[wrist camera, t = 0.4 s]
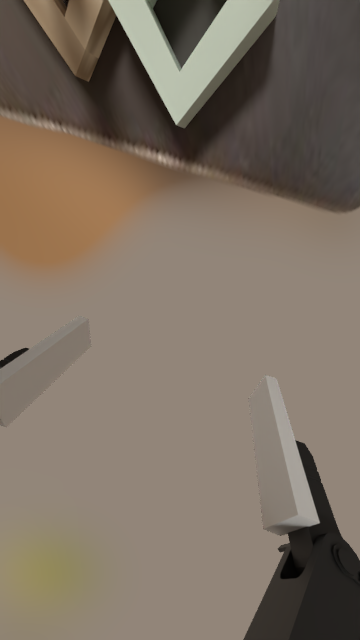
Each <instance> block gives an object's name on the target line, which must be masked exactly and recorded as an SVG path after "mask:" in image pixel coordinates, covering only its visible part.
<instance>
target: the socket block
mask: <svg viewBox="0 0 360 640" xmlns="http://www.w3.org/2000/svg"><path fill="white" fill-rule="evenodd" d="M108 1H109V2H110V4H111V6H112V8H113V10H114V12H115V14H116V15H117V17H118V19H119V21H120V23H121V25H122V26H123V28H124V30H125V32H126V34H127V36H128V37H129V39H130V41H131V43H132V45H133V47H134V48H135V50H136V52H137V54H138V56H139V58H140V60H141V61H142V63H143V65H144V67H145V69H146V71H147V72H148V74H149V76H150V78H151V80H152V82H153V83H154V85H155V87H156V89H157V91H158V93H159V94H160V96H161V98H162V100H163V102H164V104H165V106H166V107H167V109H168V111H169V113H170V115H171V117H172V118H173V120H174V122H175V124H176V125H177V126H179V127H182V128H184V129H185V128H186V126H187V125H188V124H189V123H190V121H191V120H192V119H193V118H194V116H195V115H196V114H197V113H198V112H199V110H200V109H201V108H202V107H203V105H204V104H205V103H206V102H207V100H208V99H209V98H210V97H211V96H212V94H213V93H214V92H215V91H216V89H217V88H218V87H219V86H220V85H221V83H222V82H223V81H224V80H225V78H226V77H227V76H228V75H229V73H230V72H231V71H232V70H233V69H234V67H235V66H236V65H237V64H238V62H239V61H240V60H241V59H242V57H243V56H244V55H245V54H246V53H247V51H248V50H249V49H250V48H251V46H252V45H253V44H254V43H255V41H256V40H257V39H258V38H259V37H260V35H261V34H262V33H263V32H264V30H265V29H266V28H267V27H268V25H269V24H270V23H271V22H272V21H273V19H274V18H275V17H276V14H277V10H278V6H279V2H280V0H227V1H226V3H225V4H224V6H223V7H222V9H221V10H220V12H219V13H218V15H217V16H216V18H215V19H214V21H213V22H212V24H211V25H210V27H209V28H208V30H207V31H206V33H205V34H204V36H203V38H202V39H201V41H200V42H199V44H198V45H197V47H196V48H195V50H194V51H193V53H192V54H191V56H190V57H189V59H188V60H187V62H186V63H185V65H184V66H183V68H182V69H181V67H180V65H179V62H178V60H177V58H176V56H175V54H174V52H173V50H172V48H171V46H170V44H169V41H168V39H167V37H166V35H165V33H164V31H163V29H162V27H161V25H160V23H159V20H158V18H157V16H156V14H155V12H154V10H153V8H154V6H155V3H156V1H157V0H108Z"/></svg>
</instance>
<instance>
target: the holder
mask: <svg viewBox="0 0 360 640" xmlns="http://www.w3.org/2000/svg"><path fill="white" fill-rule="evenodd" d="M24 2H25V3H26V5H27V6H28V7H29V9H30V10H31V12H32V13H33V15H34V16H35V18H36V19H37V21H38V22H39V24H40V25H41V26H42V28H43V29H44V31H45V32H46V34H47V35H48V37H49V38H50V40H51V41H52V42H53V44H54V45H55V47H56V48H57V50H58V51H59V53H60V54H61V56H62V57H63V59H64V60H65V61H66V63H67V64H68V66H69V67H70V69H71V70H72V72H73V73H74V75H75V76H76V77H79V78H81V79H83V80H85V81H88V82H89V80H90V78H91V76H92V73H93V71H94V68H95V66H96V64H97V61H98V59H99V56H100V54H101V51H102V49H103V47H104V44H105V42H106V39H107V37H108V35H109V32H110V30H111V27H112V25H113V23H114V20H115V18H116V14H115V12H114V10H113V8H112V6H111V4H110V2H109V1H108V0H69V3H68V6H67V7H66V5H65V4H64V2H63V0H24Z"/></svg>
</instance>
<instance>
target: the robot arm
mask: <svg viewBox="0 0 360 640" xmlns="http://www.w3.org/2000/svg"><path fill="white" fill-rule="evenodd" d="M90 347H91V340H90V330H89V320H88V319H87V318H84V317H81V316H79V317H77V318H75V319H74V320H72V321H71V322H69V323H68V324H66V325H65V326H63V327H62V328H60V329H59V330H58V331H56V332H54V333H53V334H51V335H50V336H48V337H47V338H45V339H44V340H43V341H41V342H39V343H38V344H37V345H35V346H34V347H32V348H31V349H28V348H23V349H21V350H18V351H16V352H13V353H12V354H10V355H9V356H7V357H6V358H4V360H1V361H0V425H1V426H4V427H7V426H8V425H9V424H10V423H11V422H12V421H13V420H15V419H16V418H17V417H18V416H19V415H20V414H21V413H22V412H23V411H24V410H25V409H26V408H27V407H28V406H29V405H30V404H31V403H32V402H33V401H34V400H35V399H36V398H38V397H39V396H40V395H41V394H42V393H43V392H44V391H45V390H46V389H47V388H48V387H49V386H50V385H51V384H52V383H53V382H54V381H55V380H56V379H57V378H58V377H60V376H61V375H62V374H63V373H64V372H65V371H66V370H67V369H68V368H69V367H70V366H71V365H72V364H73V363H74V362H75V361H76V360H77V359H78V358H79V357H80V356H82V355H83V354H84V353H85V352H86V351H87V350H88V349H89V348H90ZM249 407H250V415H251V425H252V433H253V442H254V450H255V460H256V468H257V477H258V486H259V495H260V504H261V513H262V521H263V529H265V530H267V531H270V532H272V533H275V534H277V535H280V536H281V535H285V534H288V536H289V541H290V543H288V544H284V545H281V546H280V547H279V548H278V550H279V552H283V551H285V552H284V554H283V556H282V558H281V560H280V562H279V564H278V567H277V569H276V571H275V573H274V575H273V578H272V580H271V582H270V584H269V586H268V588H267V590H266V592H265V595H264V597H263V599H262V601H261V603H260V605H259V607H258V610H257V612H256V614H255V616H254V618H253V621H252V623H251V625H250V627H249V629H248V631H247V633H246V635H245V638H244V640H360V560H359V559H358V557H357V555H356V553H355V552H354V551H353V549H352V548H351V547H350V545H349V544H348V543H347V542H346V541H345V540H344V539H343V538H342V536H341V534H340V532H339V529H338V527H337V524H336V521H335V518H334V516H333V513H332V510H331V507H330V505H329V502H328V499H327V496H326V493H325V490H324V487H323V485H322V483H321V479H320V476H319V473H318V472H317V467H316V465H315V462H314V459H313V456H312V455H311V453H310V451H309V450H308V448H307V447H306V445H305V444H304V443H301V442H299V441H296V440H295V438H294V435H293V432H292V428H291V425H290V422H289V418H288V415H287V412H286V409H285V405H284V402H283V398H282V395H281V392H280V389H279V385H278V382H277V379H276V378H273V377H270V376H267V375H265V376H264V377H263V379H262V380H261V382H260V383H259V385H258V386H257V388H256V389H255V390H254V392H253V393H252V395H251V396H250V398H249Z"/></svg>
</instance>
